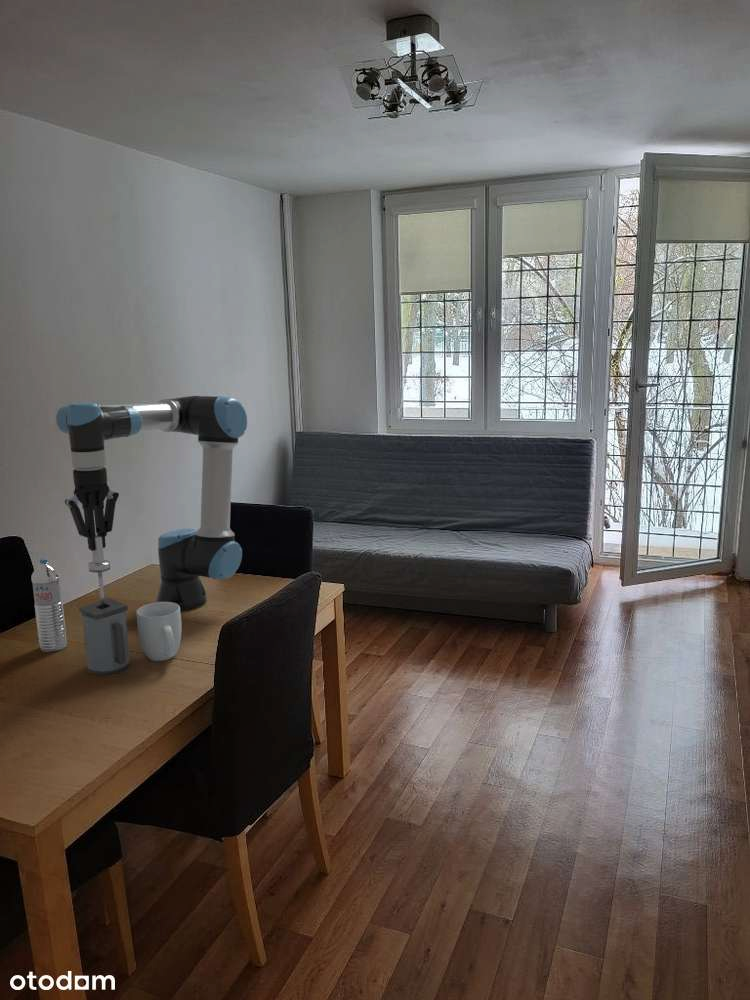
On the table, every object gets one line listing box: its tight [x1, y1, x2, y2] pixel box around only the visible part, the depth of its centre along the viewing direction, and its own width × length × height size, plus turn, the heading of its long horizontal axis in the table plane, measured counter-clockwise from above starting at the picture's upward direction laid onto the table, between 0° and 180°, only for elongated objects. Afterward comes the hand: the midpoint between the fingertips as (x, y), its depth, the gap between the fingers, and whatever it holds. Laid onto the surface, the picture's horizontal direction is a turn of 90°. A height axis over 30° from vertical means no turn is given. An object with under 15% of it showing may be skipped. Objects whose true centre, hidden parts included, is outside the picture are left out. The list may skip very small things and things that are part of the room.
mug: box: [135, 601, 182, 662], centre depth 190 cm, size 15×11×13 cm
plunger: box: [87, 559, 111, 609], centre depth 183 cm, size 6×6×16 cm
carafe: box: [78, 597, 131, 676], centre depth 185 cm, size 10×12×16 cm
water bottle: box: [31, 557, 68, 653], centre depth 196 cm, size 7×7×25 cm
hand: (98, 561), depth 181 cm, fingers closed
